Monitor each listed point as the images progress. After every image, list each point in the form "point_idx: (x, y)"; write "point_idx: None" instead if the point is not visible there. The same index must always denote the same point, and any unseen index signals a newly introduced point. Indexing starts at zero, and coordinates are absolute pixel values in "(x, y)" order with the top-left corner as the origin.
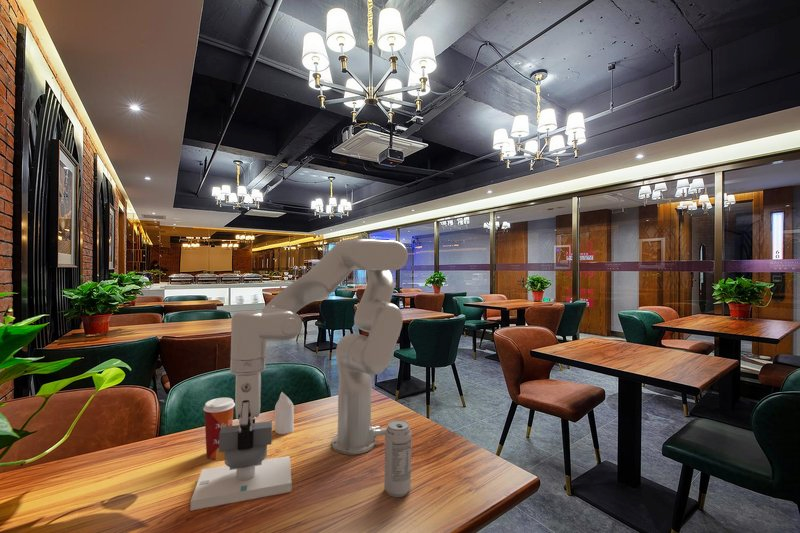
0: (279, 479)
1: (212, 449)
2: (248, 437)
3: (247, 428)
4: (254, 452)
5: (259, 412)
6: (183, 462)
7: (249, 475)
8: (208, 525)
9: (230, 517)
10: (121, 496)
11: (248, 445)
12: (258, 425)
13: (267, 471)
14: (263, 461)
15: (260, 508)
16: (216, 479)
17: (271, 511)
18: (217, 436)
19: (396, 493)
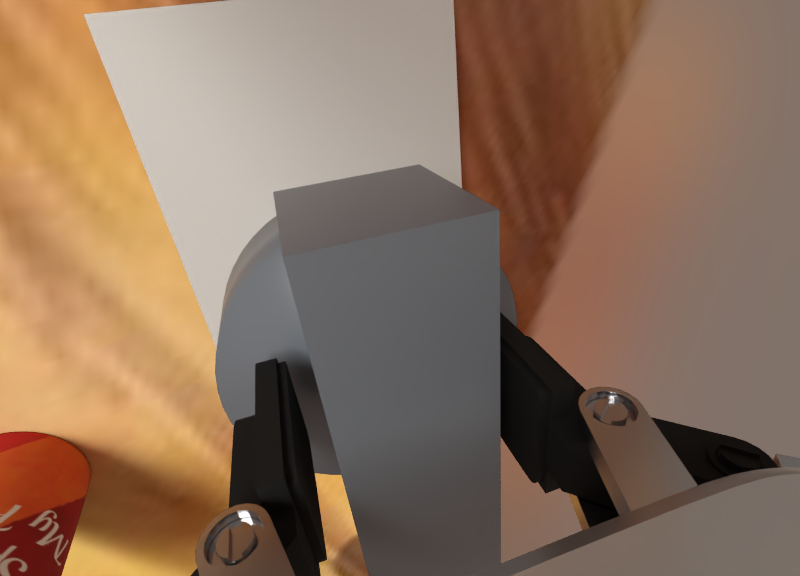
0: (403, 67)
1: (77, 516)
2: (567, 376)
3: (709, 444)
4: (500, 269)
5: (766, 518)
6: (133, 550)
7: None
8: (542, 294)
9: (528, 240)
10: (346, 569)
11: (527, 336)
12: (413, 381)
13: (310, 158)
14: (185, 209)
15: (514, 138)
16: None
17: (546, 84)
18: (43, 572)
19: None
